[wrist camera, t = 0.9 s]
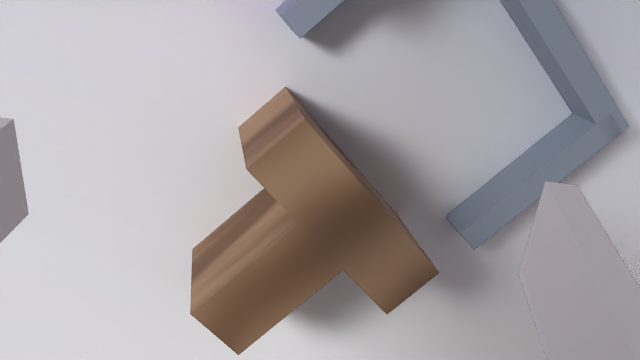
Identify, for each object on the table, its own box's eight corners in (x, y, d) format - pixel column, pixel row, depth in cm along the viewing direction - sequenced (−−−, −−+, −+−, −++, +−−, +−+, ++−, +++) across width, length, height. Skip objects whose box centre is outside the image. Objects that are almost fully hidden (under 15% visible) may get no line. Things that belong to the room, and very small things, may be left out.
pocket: (275, 9, 33) (280, 15, 30) (445, -141, 31) (464, -147, 29) (458, 232, 39) (474, 249, 37) (603, 115, 38) (629, 126, 36)
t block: (146, 207, 35) (133, 265, 29) (285, 86, 34) (305, 119, 28) (272, 321, 39) (285, 395, 33) (399, 217, 38) (439, 272, 32)
